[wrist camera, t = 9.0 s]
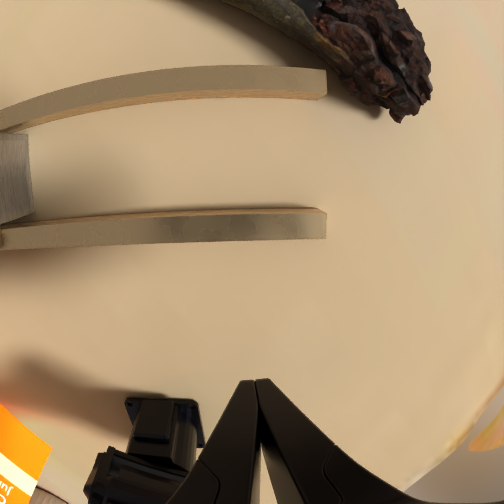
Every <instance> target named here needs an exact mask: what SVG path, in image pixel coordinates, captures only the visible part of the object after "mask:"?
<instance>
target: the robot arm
mask: <svg viewBox="0 0 504 504" xmlns="http://www.w3.org/2000/svg"><path fill="white" fill-rule="evenodd" d="M129 402H130V403H129ZM124 404H125V407H126V409H127V412H128V414H129V417H130V420H131V422H132V425H133V428H132V431H131V435H130V438H129V442H128V445H127V449H126V452H125V453H124V452H121V451H119V450H116V449H115V448H114V447H111V446H109V447H108V449H107V452H104V453H98V455H97V458H96V461H95V464H94V466H93V469H92V471H91V473H90V475H89V477H88V480H87V482H86V484H85V486H84V490H83V492H84V494H85V495H86V497H87V499H88V504H259V502H260V471H261V447H262V451H263V455H264V459H265V462H266V466H267V469H268V473H269V476H270V480H271V483H272V486H273V490H274V493H275V497H276V500H277V503H278V504H504V500H503V501H499V502H491V503H436V502H435V503H434V502H426V501H422V500H419V499H415V498H413V497H411V496H409V495H407V494H405V493H403V492H402V491H400V490H398V489H397V488H395V487H393V486H392V485H390V484H388V483H387V482H385V481H383V480H382V479H380V478H379V477H377V476H375V475H374V474H372V473H371V472H369V471H368V470H367V469H365V468H364V467H362V466H361V465H359V464H358V463H357V462H355V461H354V460H353V459H352V458H351V457H349V456H348V455H347V454H346V453H345V452H344V451H343V450H341V449H340V448H339V447H338V446H337V445H335V443H334V442H333V441H332V440H331V439H329V438H328V437H327V436H326V435H325V434H324V433H323V432H322V431H321V430H320V429H319V428H318V427H317V426H316V425H315V424H314V423H313V422H312V421H311V420H310V419H309V418H308V417H307V416H306V415H305V414H304V413H302V412H301V411H300V410H299V409H298V408H297V407H296V406H295V405H294V404H293V403H292V402H291V401H290V399H289V398H288V397H287V396H286V395H285V394H284V393H283V392H282V391H281V390H280V389H279V388H278V387H277V386H276V385H275V384H274V383H273V382H272V381H271V380H270V379H268V378H265V379H256V380H255V381H254V380H242V381H240V382H239V384H238V386H237V388H236V390H235V391H234V393H233V395H232V397H231V399H230V401H229V403H228V405H227V406H226V408H225V410H224V412H223V414H222V416H221V418H220V419H219V421H218V423H217V425H216V427H215V429H214V430H213V432H212V434H211V436H210V438H209V439H208V441H207V443H206V442H205V437H204V432H203V427H202V421H201V416H200V410H199V405H198V403H197V402H195V401H185V400H159V399H144V398H131V397H127V398H126V399H125V402H124ZM192 406H194V407H192ZM205 443H206V445H205ZM196 448H203V450H202V452H201V454H200V455H199V457H198V460H196Z"/></svg>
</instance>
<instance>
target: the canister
mask: <svg viewBox="0 0 504 504" xmlns="http://www.w3.org/2000/svg"><path fill="white" fill-rule="evenodd" d="M28 504H67V503H66V502H64V501H62V500H61V499H59V498H57V497H55V496H53V495H51V494H49V493H47V492H45V491H43V490H41V489H38V488H35V489H34V491H33V494H32V496H31V498H30V500H29V503H28Z"/></svg>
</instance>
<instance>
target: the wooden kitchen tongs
mask: <svg viewBox="0 0 504 504" xmlns="http://www.w3.org/2000/svg"><path fill="white" fill-rule="evenodd" d="M326 94H327V80H326V70H319V69H310V68H299V67H285V66H264V65H218V66H197V67H184V68H173V69H163V70H155V71H147V72H140V73H134V74H128V75H122V76H116V77H111V78H106V79H101V80H97V81H92V82H88V83H84V84H80V85H76V86H72V87H68V88H64V89H61V90H57V91H54V92H51V93H47V94H44V95H41V96H38V97H35V98H32V99H29V100H26V101H23V102H21V103H18V104H15V105H13V106H10V107H7V108H5V109H2V110H0V133H12V132H15V131H19V130H22V129H25V128H28V127H32V126H35V125H39V124H42V123H46V122H50V121H54V120H58V119H62V118H66V117H70V116H75V115H79V114H84V113H89V112H94V111H99V110H104V109H110V108H116V107H122V106H129V105H136V104H144V103H152V102H161V101H172V100H184V99H199V98H223V97H267V98H292V99H307V100H319V99H320V98H321V97H323V96H324V95H326ZM326 227H327V213H325V212H323V211H321V210H320V209H318V208H278V209H226V210H196V211H172V212H153V213H135V214H120V215H106V216H92V217H80V218H68V219H57V220H47V221H37V222H28V223H19V224H10V225H2V226H0V250H17V249H36V248H57V247H80V246H103V245H128V244H155V243H184V242H216V241H252V240H292V239H326Z"/></svg>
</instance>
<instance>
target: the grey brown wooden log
mask: <svg viewBox="0 0 504 504" xmlns="http://www.w3.org/2000/svg"><path fill="white" fill-rule="evenodd" d="M221 1H223V2H226V3H228V4H230V5H232V6H235V7H237V8H239V9H241V10H244V11H246V12H248V13H250V14H252V15H254V16H256V17H257V18H259V19H261V20H263V21H264V22H266V23H268V24H269V25H271V26H273V27H274V28H276V29H278V30H280V31H281V32H283V33H285V34H286V35H288V36H290V37H291V38H293V39H295V40H296V41H298V42H299V43H301V44H302V45H304V46H305V47H307V48H308V49H310V50H311V51H313V52H314V53H315V54H317V55H318V56H319V57H321V58H322V59H323V60H325V61H326V62H327V63H329V64H330V65H331V67H332V68H333V69H334V70H335V71H336V72H337V73H338V74H339V76H340V80H341V83H342V85H343V86H344V87H345V88H346V89H348V91H349V92H350V93H351V95H354V96H357V97H358V98H359V99H360V100H361V101H362V102H363V103H364V104H366V105H369V106H370V105H380V106H381V107H383V108H386V109H390V110H389V114H390V116H391V117H392V118H393V120H394V121H396V122H397V123H401V121H402V119H403V118H404V116H405V115H410V114H412V115H413V116H414V115H416V114H418V112H419V109H420V106H421V105H424V103H426V101H427V100H430V99H431V95H430V93H431V92H432V90H433V87H432V85H431V82H430V80H429V77H428V75H429V73H430V72H431V62H430V61H429V59H428V57H427V55H426V53H425V51H424V46H425V42H424V40H423V38H422V33H421V32H420V31H418V30H417V29H416V28H415V27H414V25H413V23H412V21H411V19H410V17H409V15H408V13H407V12H406V10H405V8H403V9H398V7H399V5H398V4H397V2H396V0H221Z"/></svg>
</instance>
